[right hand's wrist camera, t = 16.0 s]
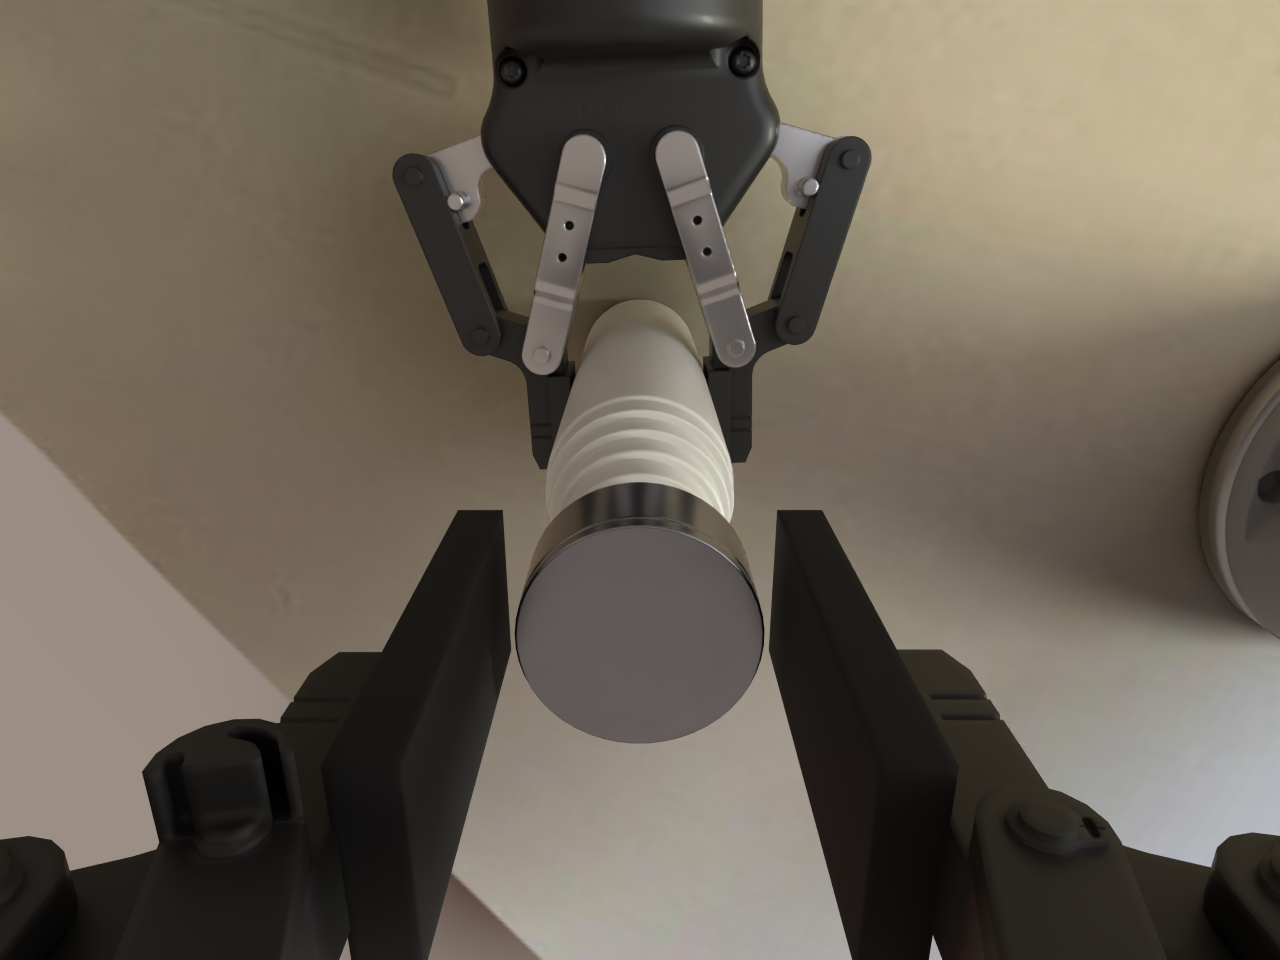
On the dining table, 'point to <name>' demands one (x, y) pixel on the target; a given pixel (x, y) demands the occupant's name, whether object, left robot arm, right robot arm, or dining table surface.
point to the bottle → (639, 413)
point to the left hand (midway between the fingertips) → (644, 473)
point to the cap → (639, 615)
